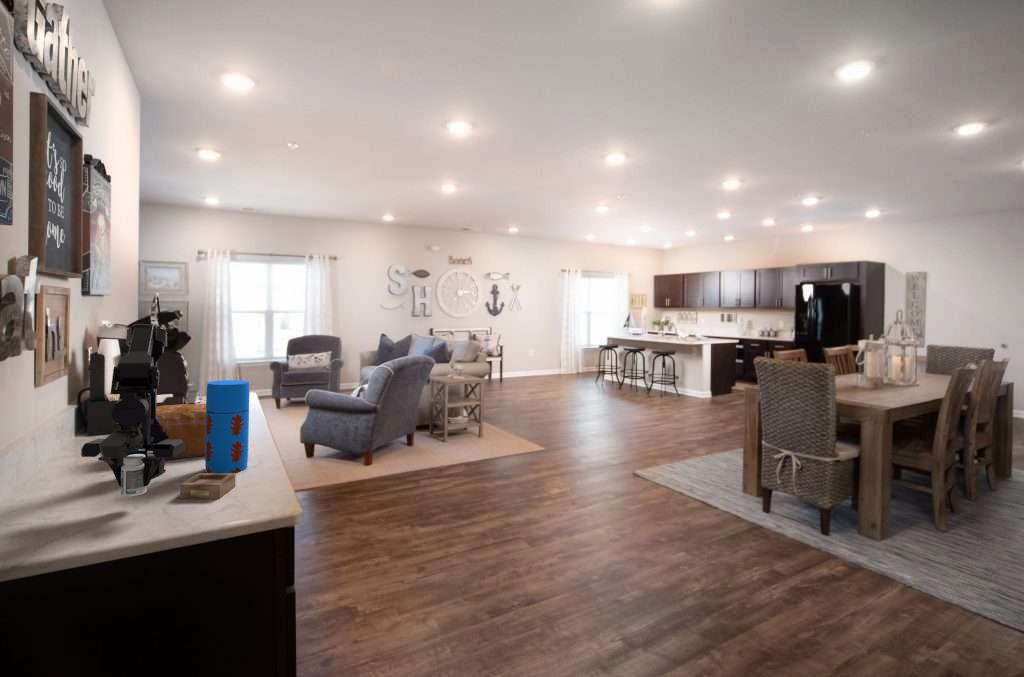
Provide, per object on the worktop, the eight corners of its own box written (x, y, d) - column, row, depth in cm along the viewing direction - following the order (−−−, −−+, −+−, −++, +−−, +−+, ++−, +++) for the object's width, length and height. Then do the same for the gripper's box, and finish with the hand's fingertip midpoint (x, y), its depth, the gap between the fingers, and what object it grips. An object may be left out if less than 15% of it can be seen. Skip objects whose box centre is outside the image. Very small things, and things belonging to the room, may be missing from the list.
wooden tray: (179, 499, 123) (179, 484, 123) (198, 486, 132) (198, 473, 132) (219, 499, 124) (219, 484, 124) (235, 486, 133) (235, 473, 133)
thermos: (217, 477, 140) (219, 385, 139) (197, 469, 145) (198, 382, 145) (255, 468, 149) (257, 382, 148) (235, 461, 155) (236, 379, 154)
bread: (230, 454, 163) (231, 405, 162) (127, 465, 147) (128, 411, 147) (223, 444, 174) (224, 398, 173) (127, 454, 158) (127, 404, 158)
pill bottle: (151, 491, 117) (152, 454, 117) (131, 498, 113) (132, 460, 112) (135, 488, 118) (136, 452, 118) (115, 495, 114) (115, 457, 113)
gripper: (62, 423, 106) (61, 498, 106) (159, 425, 108) (158, 498, 108) (99, 413, 117) (98, 481, 117) (186, 415, 119) (185, 481, 120)
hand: (134, 485), depth 115 cm, fingers closed on pill bottle, 5 cm apart
